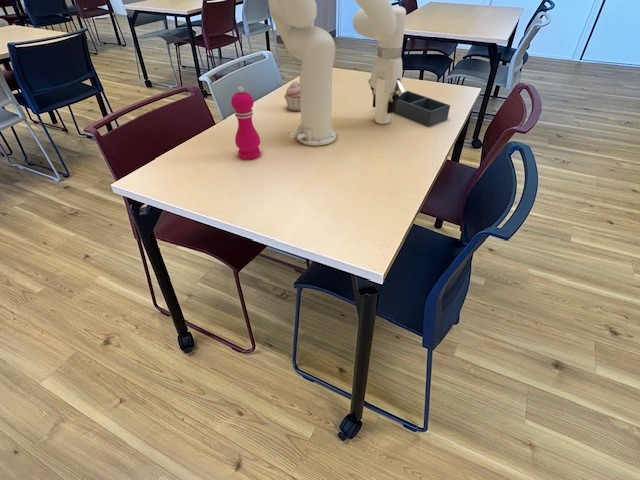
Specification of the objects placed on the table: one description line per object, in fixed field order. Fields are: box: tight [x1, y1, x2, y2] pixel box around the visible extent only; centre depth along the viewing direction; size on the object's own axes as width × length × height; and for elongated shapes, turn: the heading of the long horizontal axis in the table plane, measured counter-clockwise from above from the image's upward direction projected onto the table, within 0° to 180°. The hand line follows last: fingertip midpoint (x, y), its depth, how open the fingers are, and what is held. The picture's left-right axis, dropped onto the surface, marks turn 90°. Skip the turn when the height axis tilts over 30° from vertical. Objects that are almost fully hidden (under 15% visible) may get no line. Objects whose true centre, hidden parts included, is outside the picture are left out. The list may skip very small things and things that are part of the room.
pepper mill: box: [230, 86, 261, 161], centre depth 107 cm, size 7×7×20 cm
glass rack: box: [392, 90, 451, 127], centre depth 135 cm, size 10×19×5 cm, turn 38°
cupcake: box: [283, 80, 301, 112], centre depth 139 cm, size 9×9×10 cm
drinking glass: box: [374, 77, 394, 125], centre depth 128 cm, size 7×7×15 cm
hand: (383, 108), depth 130 cm, fingers closed on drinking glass, 6 cm apart
